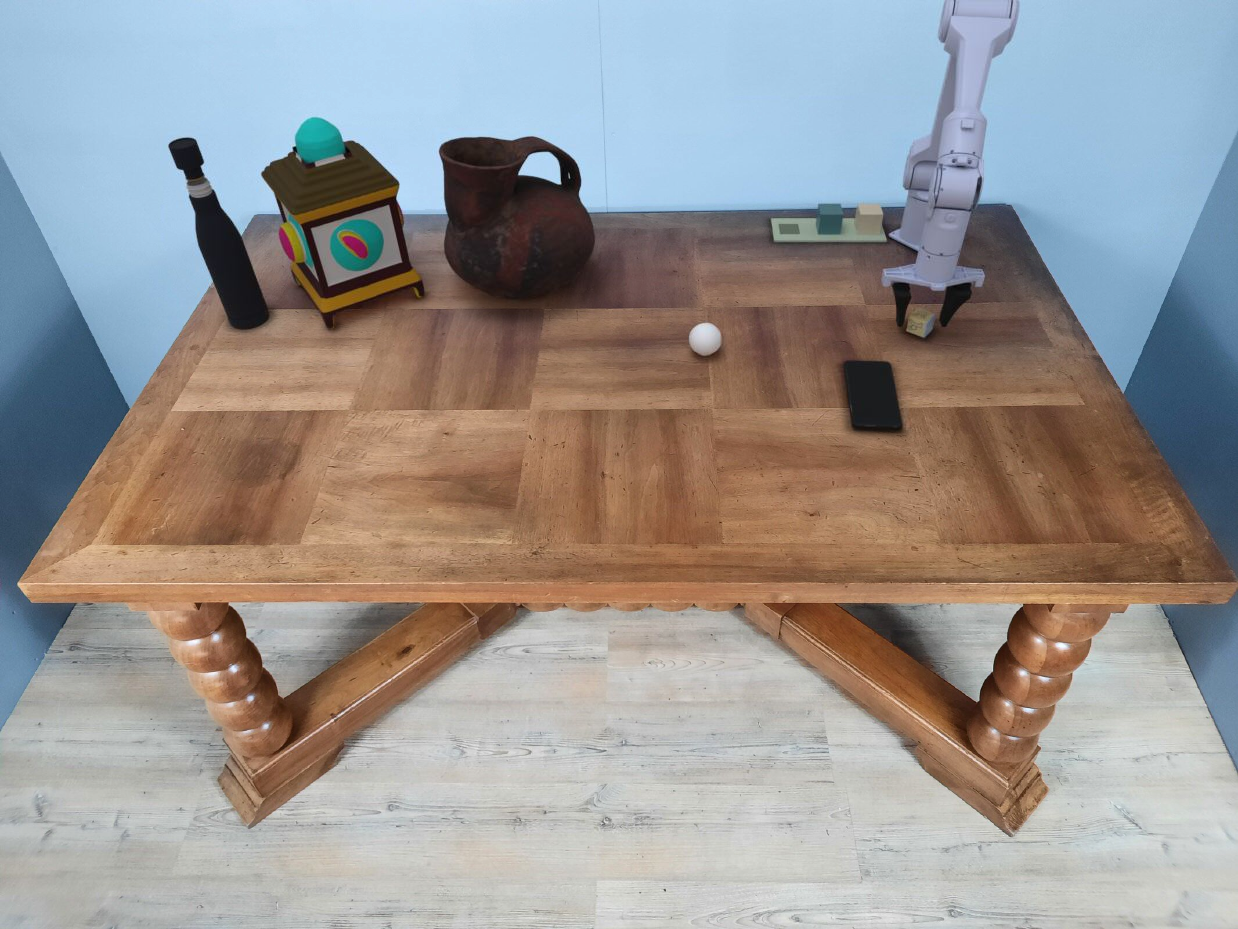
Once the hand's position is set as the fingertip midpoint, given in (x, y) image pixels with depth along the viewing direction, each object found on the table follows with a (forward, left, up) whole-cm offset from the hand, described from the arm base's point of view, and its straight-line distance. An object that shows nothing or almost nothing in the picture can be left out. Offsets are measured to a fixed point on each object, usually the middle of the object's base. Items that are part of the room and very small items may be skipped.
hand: (920, 323), depth 137 cm
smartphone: (+18, +6, -1) cm, 19 cm away
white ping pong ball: (+30, -16, -2) cm, 34 cm away
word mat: (-11, -31, -1) cm, 33 cm away
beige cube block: (-17, -26, -1) cm, 31 cm away
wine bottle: (+83, -70, -2) cm, 109 cm away
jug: (+41, -52, -2) cm, 66 cm away
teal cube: (-11, -31, -1) cm, 33 cm away
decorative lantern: (+65, -66, -2) cm, 93 cm away
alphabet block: (0, 0, -2) cm, 2 cm away
